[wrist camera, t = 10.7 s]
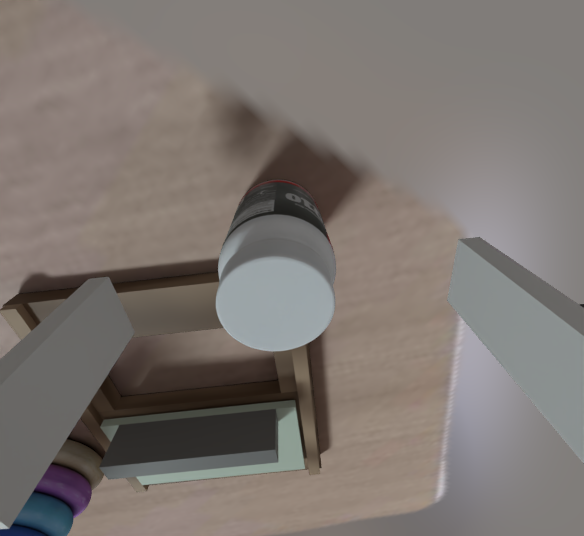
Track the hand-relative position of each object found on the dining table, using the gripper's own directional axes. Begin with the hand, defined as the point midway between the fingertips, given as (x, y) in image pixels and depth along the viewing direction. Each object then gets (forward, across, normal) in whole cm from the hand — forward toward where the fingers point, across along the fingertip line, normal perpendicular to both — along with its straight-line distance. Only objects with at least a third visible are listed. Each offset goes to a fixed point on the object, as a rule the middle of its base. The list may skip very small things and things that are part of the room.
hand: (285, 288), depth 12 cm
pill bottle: (+7, 0, 0) cm, 7 cm away
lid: (+5, -8, -18) cm, 21 cm away
